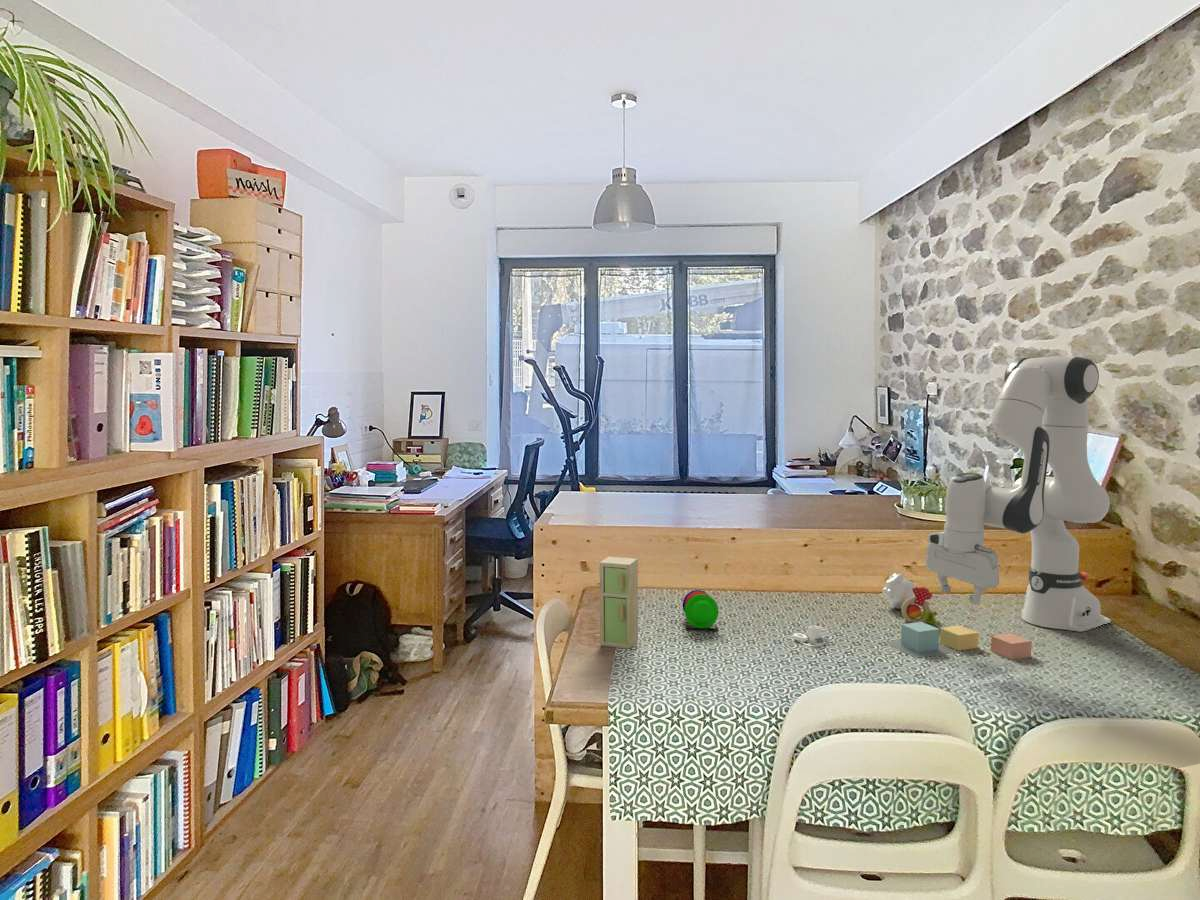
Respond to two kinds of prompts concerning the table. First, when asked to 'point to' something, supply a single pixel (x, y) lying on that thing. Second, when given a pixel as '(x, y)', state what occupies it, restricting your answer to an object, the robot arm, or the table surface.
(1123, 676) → the table surface
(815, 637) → the teacup and saucer
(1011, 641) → the terracotta brick
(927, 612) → the bird rattle
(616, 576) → the toy refrigerator
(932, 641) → the teal brick
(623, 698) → the table surface
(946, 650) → the build plate
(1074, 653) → the table surface
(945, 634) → the ochre brick
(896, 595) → the ghost figurine
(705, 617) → the multicoloured piece
